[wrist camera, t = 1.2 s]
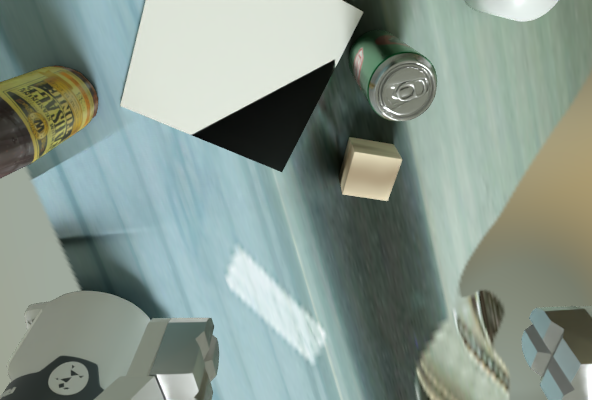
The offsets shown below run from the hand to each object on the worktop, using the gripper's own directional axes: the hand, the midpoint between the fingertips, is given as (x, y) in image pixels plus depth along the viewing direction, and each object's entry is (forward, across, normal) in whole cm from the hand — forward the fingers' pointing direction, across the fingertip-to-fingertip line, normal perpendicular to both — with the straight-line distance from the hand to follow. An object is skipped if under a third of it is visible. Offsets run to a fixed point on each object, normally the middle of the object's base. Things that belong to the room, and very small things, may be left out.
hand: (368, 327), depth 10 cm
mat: (+32, +8, 0) cm, 33 cm away
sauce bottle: (+32, +25, +2) cm, 41 cm away
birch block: (+32, -5, +12) cm, 35 cm away
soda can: (+33, -5, 0) cm, 33 cm away
